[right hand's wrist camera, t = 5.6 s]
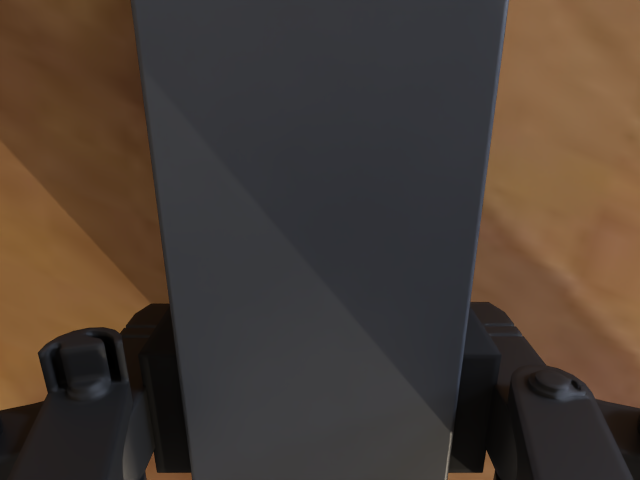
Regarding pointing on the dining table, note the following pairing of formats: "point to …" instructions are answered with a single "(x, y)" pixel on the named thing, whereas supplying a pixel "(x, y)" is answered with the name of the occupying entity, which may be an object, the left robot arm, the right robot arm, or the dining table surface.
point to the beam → (319, 224)
